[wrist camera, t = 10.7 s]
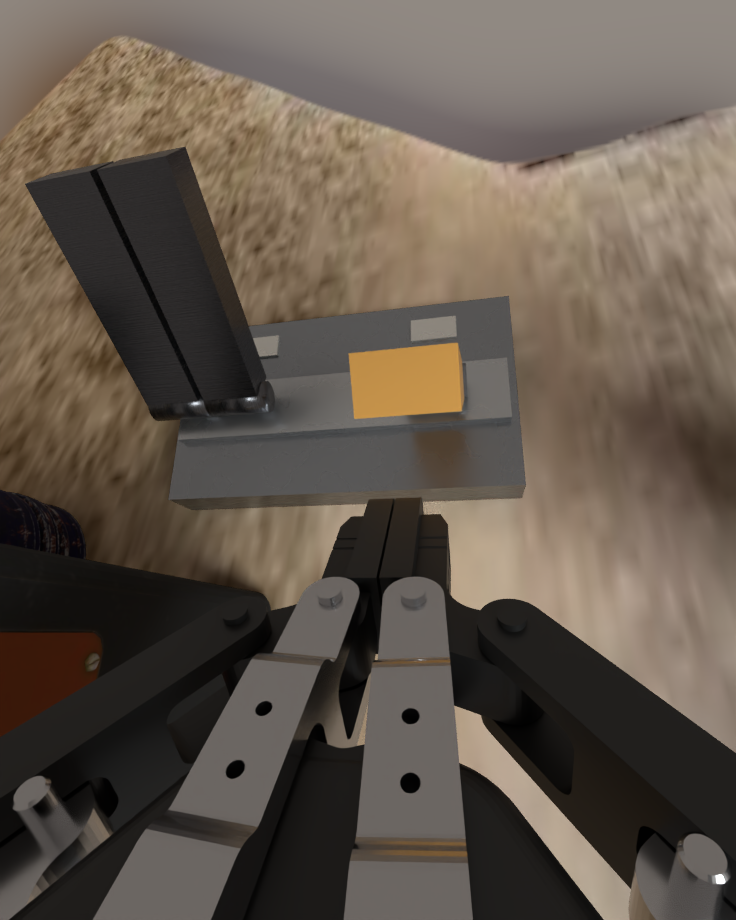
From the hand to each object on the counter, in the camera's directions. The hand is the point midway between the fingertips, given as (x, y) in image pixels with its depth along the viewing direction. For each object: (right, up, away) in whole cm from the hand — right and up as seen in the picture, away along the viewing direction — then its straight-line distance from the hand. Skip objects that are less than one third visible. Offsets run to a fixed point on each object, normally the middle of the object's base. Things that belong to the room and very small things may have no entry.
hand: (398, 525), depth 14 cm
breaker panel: (-2, +5, +22) cm, 22 cm away
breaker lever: (+3, +6, +16) cm, 17 cm away
